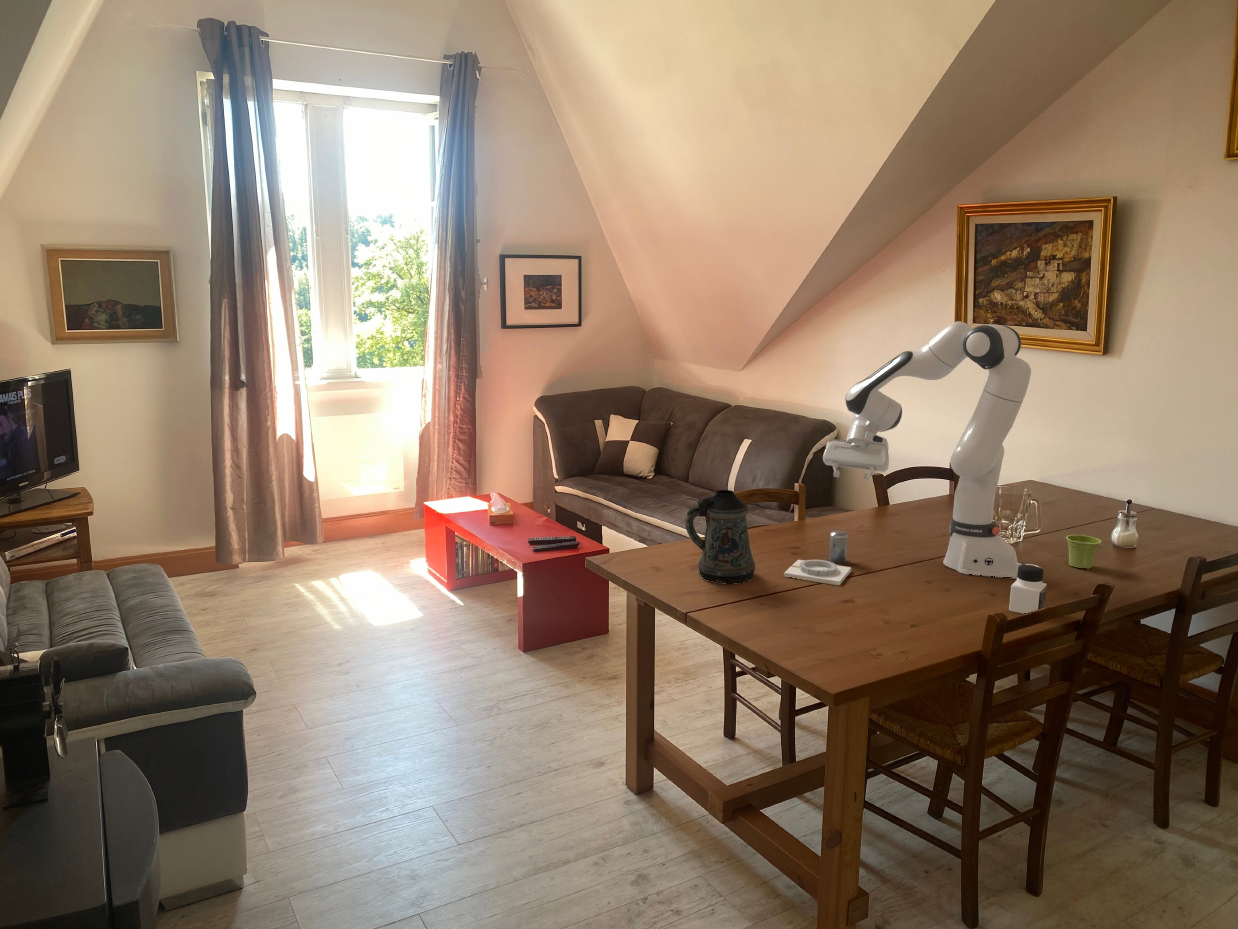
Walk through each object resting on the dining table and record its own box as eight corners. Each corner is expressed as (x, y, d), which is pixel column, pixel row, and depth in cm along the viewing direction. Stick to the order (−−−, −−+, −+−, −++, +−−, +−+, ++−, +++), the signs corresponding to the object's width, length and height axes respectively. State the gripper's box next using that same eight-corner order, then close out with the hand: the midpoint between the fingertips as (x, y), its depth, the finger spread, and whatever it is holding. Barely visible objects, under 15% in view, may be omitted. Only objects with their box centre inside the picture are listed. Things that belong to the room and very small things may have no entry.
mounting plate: (851, 571, 266) (851, 562, 265) (839, 585, 254) (839, 576, 253) (797, 563, 273) (798, 554, 272) (784, 576, 261) (784, 567, 260)
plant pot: (1069, 559, 278) (1072, 532, 276) (1102, 567, 271) (1106, 539, 269) (1058, 566, 271) (1061, 538, 269) (1091, 573, 265) (1095, 545, 263)
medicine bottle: (1037, 617, 231) (1042, 572, 228) (1008, 611, 235) (1012, 567, 232) (1044, 609, 236) (1049, 565, 234) (1015, 603, 241) (1019, 560, 238)
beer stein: (766, 578, 259) (770, 494, 254) (712, 590, 249) (714, 502, 244) (731, 563, 273) (733, 482, 268) (678, 573, 263) (679, 490, 258)
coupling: (847, 560, 277) (849, 531, 275) (843, 564, 272) (845, 535, 270) (831, 557, 279) (832, 529, 277) (827, 562, 274) (828, 533, 273)
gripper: (826, 433, 290) (816, 468, 284) (891, 439, 281) (882, 476, 275) (829, 444, 295) (819, 479, 289) (893, 451, 286) (884, 487, 280)
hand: (850, 478), depth 282 cm, fingers open, 8 cm apart
